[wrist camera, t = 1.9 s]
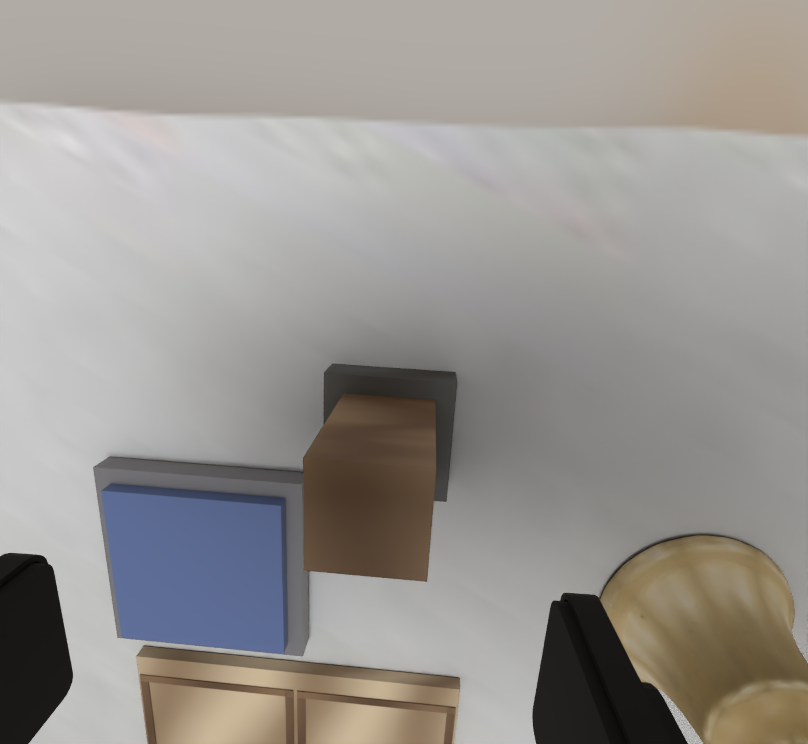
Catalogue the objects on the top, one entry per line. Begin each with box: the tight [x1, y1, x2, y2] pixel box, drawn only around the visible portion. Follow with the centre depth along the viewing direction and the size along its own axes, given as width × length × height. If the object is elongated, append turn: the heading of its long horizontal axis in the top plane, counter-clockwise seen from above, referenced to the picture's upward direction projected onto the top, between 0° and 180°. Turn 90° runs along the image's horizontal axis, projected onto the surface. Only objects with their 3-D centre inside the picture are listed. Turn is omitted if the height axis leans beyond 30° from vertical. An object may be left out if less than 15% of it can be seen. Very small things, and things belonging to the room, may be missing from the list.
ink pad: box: [93, 457, 309, 656], centre depth 20 cm, size 9×9×2 cm
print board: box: [136, 646, 460, 744], centre depth 24 cm, size 16×10×1 cm, turn 87°
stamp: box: [303, 364, 457, 582], centre depth 16 cm, size 5×5×7 cm
